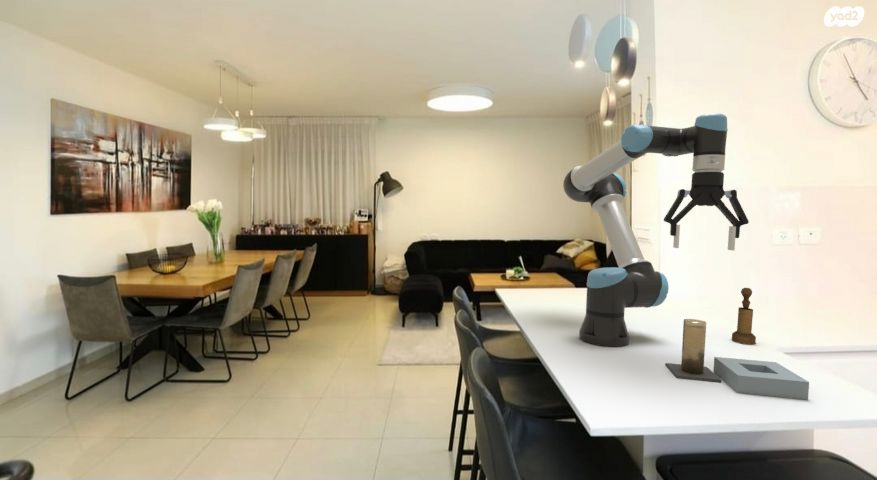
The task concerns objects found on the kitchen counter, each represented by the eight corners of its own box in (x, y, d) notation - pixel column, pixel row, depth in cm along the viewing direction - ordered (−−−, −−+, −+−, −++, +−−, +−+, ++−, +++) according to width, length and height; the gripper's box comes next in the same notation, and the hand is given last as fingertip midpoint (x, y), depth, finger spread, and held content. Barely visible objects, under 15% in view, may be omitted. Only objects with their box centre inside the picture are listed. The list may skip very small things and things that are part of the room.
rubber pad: (676, 378, 108) (676, 375, 108) (665, 365, 118) (665, 362, 118) (721, 382, 106) (721, 380, 106) (706, 368, 116) (706, 366, 116)
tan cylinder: (684, 373, 110) (687, 322, 109) (678, 366, 115) (681, 318, 114) (706, 375, 109) (709, 324, 108) (699, 368, 114) (702, 319, 113)
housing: (737, 392, 100) (738, 375, 100) (713, 371, 114) (714, 356, 113) (808, 399, 97) (809, 382, 97) (774, 377, 110) (775, 362, 110)
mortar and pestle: (759, 345, 140) (763, 290, 139) (737, 343, 141) (740, 288, 140) (749, 339, 147) (752, 286, 146) (728, 338, 148) (731, 285, 147)
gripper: (661, 170, 119) (656, 247, 120) (767, 170, 113) (761, 252, 114) (655, 173, 126) (651, 246, 128) (754, 173, 120) (749, 250, 121)
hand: (703, 249), depth 121 cm, fingers open, 13 cm apart
